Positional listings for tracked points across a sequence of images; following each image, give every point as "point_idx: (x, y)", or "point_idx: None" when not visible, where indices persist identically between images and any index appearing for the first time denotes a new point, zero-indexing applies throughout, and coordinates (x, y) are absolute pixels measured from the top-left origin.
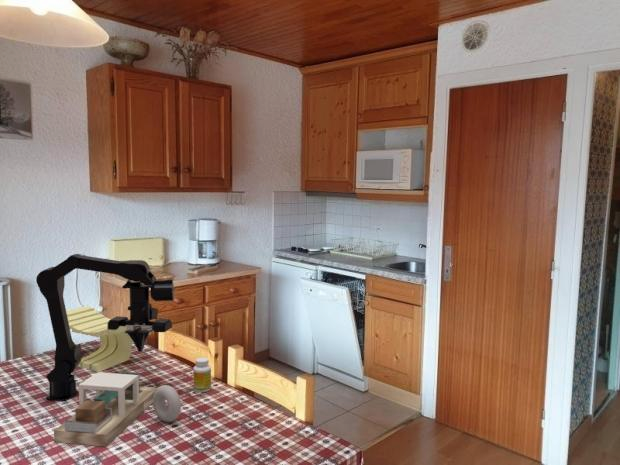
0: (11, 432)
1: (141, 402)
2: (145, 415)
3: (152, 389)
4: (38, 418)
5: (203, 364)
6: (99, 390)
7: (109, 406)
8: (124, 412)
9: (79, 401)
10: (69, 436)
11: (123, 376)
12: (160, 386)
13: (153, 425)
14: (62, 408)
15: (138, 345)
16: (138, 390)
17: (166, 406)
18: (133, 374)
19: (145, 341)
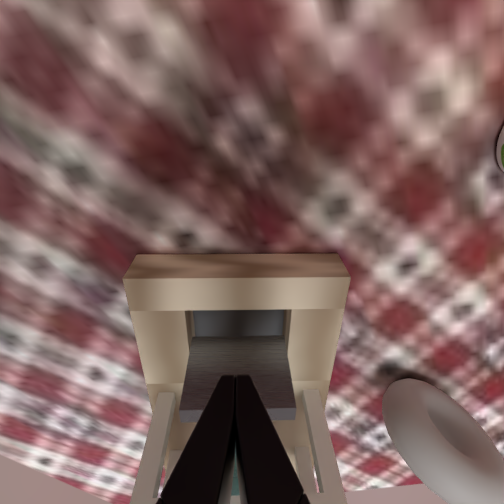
0: (45, 466)
1: (326, 388)
2: (336, 368)
3: (329, 296)
4: (37, 420)
5: None
6: (166, 443)
7: None
8: (309, 458)
9: None
10: None
11: None
12: (452, 501)
13: (378, 404)
14: (43, 371)
15: (231, 489)
16: (329, 437)
17: (427, 409)
18: (271, 416)
19: (297, 482)
